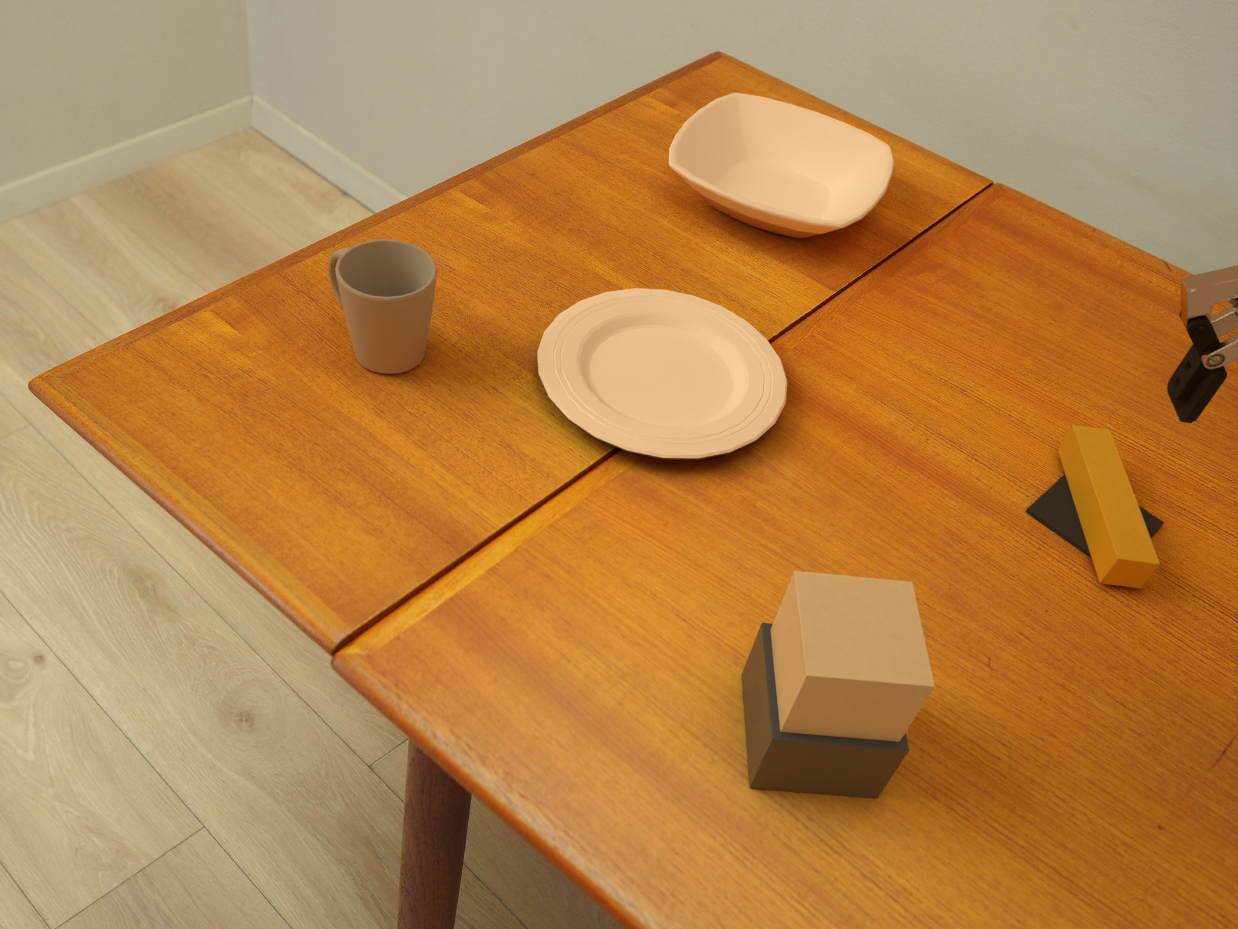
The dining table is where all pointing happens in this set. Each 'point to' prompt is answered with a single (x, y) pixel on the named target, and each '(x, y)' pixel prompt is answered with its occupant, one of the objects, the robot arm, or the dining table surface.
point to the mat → (1072, 515)
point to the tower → (835, 686)
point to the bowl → (781, 165)
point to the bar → (1107, 508)
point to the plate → (662, 374)
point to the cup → (385, 301)
